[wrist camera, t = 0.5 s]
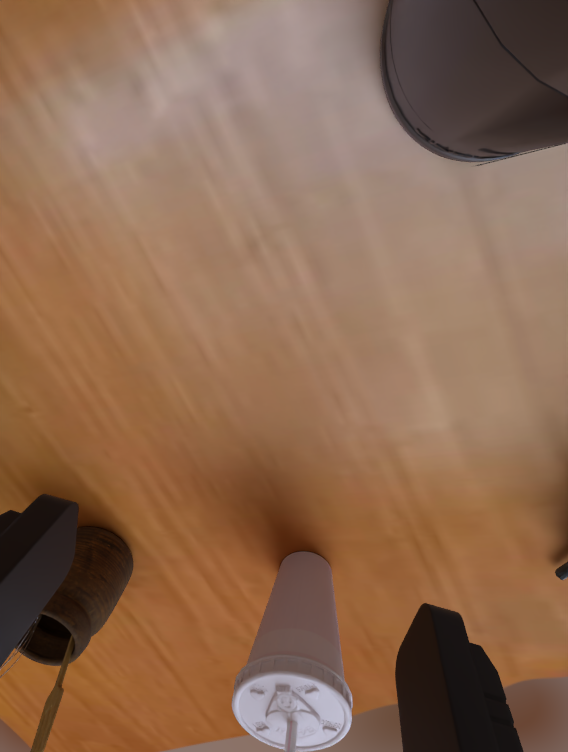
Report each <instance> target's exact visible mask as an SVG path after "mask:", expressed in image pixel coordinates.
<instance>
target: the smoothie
mask: <svg viewBox="0 0 568 752" xmlns="http://www.w3.org/2000/svg"><path fill="white" fill-rule="evenodd" d="M352 707H353V705H352V694H351V692H350V689H349V687H348V685H347V683H346V682H345V680H344V671H343V662H342V655H341V646H340V638H339V630H338V621H337V613H336V605H335V596H334V588H333V579H332V571H331V568H330V565H329V564H328V562H327V561H326V560H325V559H324V558H322V557H321V556H319V555H317V554H315V553H311V552H305V551H302V552H295V553H292V554H290V555H288V556H287V557H286V558H285V559H284V560H283V561H282V563H281V565H280V568H279V571H278V574H277V577H276V580H275V583H274V586H273V589H272V592H271V595H270V598H269V601H268V603H267V606H266V609H265V612H264V615H263V618H262V621H261V624H260V627H259V630H258V633H257V636H256V638H255V641H254V644H253V647H252V650H251V653H250V656H249V659H248V662H247V665H246V666H244V667H243V668H242V669H241V671H240V672H239V674H238V675H237V677H236V680H235V685H234V694H233V698H232V709H233V712H234V715H235V717H236V719H237V721H238V722H239V723H240V725H241V726H242V727H243V728H244V729H245V730H246V731H247V732H248V733H249V734H251V735H252V736H253V737H255V738H257V739H258V740H260V741H262V742H264V743H266V744H268V745H271V746H274V747H277V748H280V749H284V752H295V751H315V750H320V749H324V748H327V747H329V746H332V745H334V744H335V743H337V742H338V741H340V740H341V739H342V738H343V737H344V736H345V735H346V734H347V732H348V731H349V729H350V726H351V721H352V710H351V709H352Z"/></svg>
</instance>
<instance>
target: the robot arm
mask: <svg viewBox="0 0 568 752" xmlns="http://www.w3.org/2000/svg"><path fill="white" fill-rule="evenodd" d="M380 66H381V75H382V81H383V86H384V90H385V93H386V97H387V100H388V102H389V105H390V107H391V109H392V111H393V113H394V115H395V117H396V119H397V120H398V122H399V123H400V125H401V126H402V127H403V129H404V130H405V131H406V132H407V133H408V134H409V135H410V136H411V137H412V138H413V139H414V140H415V141H416V142H417V143H419V144H420V145H421V146H423V147H424V148H426V149H427V150H429V151H431V152H432V153H435V154H437V155H439V156H442V157H445V158H448V159H452V160H456V161H464V162H483V161H491V160H496V161H498V160H497V159H500V160H502V159H501V158H504V159H506V157H508V158H510V157H509V156H512V157H514V156H513V155H516V154H519V153H521V152H526V151H531V150H535V149H540V148H544V149H546V148H545V147H548V148H550V146H552V147H554V146H558V145H562V144H566V143H568V0H390V1H389V4H388V7H387V12H386V16H385V20H384V25H383V30H382V37H381V47H380ZM540 150H542V149H540ZM536 151H538V150H536ZM532 152H534V151H532ZM528 153H530V152H528ZM524 154H526V153H524ZM520 155H522V154H520ZM516 156H518V155H516ZM492 162H494V161H492ZM488 163H490V162H488ZM484 164H487V163H484ZM480 165H483V164H480ZM476 166H478V165H476ZM472 167H473V166H472ZM78 511H79V507H78V504H77V503H76V502H72V501H69V500H65V499H62V498H58V497H55V496H51V495H48V494H42V495H40V496H39V497H38V498H37V499H36V500H35V501H34V502H33V503H32V504H31V505H30V506H28V507H27V508H26V509H25V510H24V511H23V512H22V513H19V512H16V511H12V510H10V511H8V512H6V513H4V514H2V515H0V667H1V666H2V664H3V663H4V662H5V660H6V659H7V658H8V656H9V655H10V654H11V652H12V651H13V649H14V648H15V647H16V645H17V644H18V643H19V641H20V640H21V638H22V637H23V636H24V634H25V633H26V632H27V630H28V629H29V627H30V626H31V625H32V623H33V622H34V621H35V619H36V618H37V616H38V615H39V614H40V612H41V611H42V610H43V608H44V607H45V606H46V604H47V603H48V601H49V600H50V599H51V597H52V596H53V595H54V593H55V592H56V590H57V589H58V588H59V586H60V585H61V584H62V582H63V581H64V579H65V577H66V576H67V574H68V572H69V570H70V567H71V565H72V562H73V559H74V555H75V546H76V534H77V523H78ZM395 678H396V688H397V697H398V707H399V716H400V725H401V734H402V744H403V752H523V749H522V746H521V743H520V740H519V736H518V734H517V730H516V728H514V726H513V723H514V721H513V718H512V715H511V712H510V709H509V706H508V705H507V704H506V696H505V693H504V690H503V687H502V684H501V681H500V678H499V675H498V672H497V670H496V669H495V667H494V665H493V664H492V662H491V661H490V659H489V658H488V656H487V655H486V653H485V652H484V650H483V649H482V647H481V646H480V645H476V644H473V643H469V640H468V636H467V633H466V629H465V626H464V622H463V619H462V617H461V615H460V614H459V613H458V612H455V611H451V610H448V609H444V608H441V607H437V606H434V605H430V604H427V603H424V604H422V605H421V606H420V608H419V610H418V612H417V614H416V616H415V618H414V620H413V622H412V624H411V626H410V628H409V630H408V632H407V634H406V636H405V638H404V640H403V642H402V644H401V646H400V649H399V652H398V655H397V660H396V671H395Z"/></svg>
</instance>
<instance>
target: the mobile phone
mask: <svg viewBox="0 0 568 752" xmlns="http://www.w3.org/2000/svg"><path fill="white" fill-rule="evenodd" d="M555 573H556V576H557V577H559V578H560V579H561V580H564V579H566V578H567V577H568V562H566V563H565V564H564V565H562V566H561V567H559V568H558V569H557V570H556V571H555Z"/></svg>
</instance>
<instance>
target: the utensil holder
mask: <svg viewBox="0 0 568 752" xmlns="http://www.w3.org/2000/svg"><path fill="white" fill-rule="evenodd" d="M132 570H133V559H132V555H131V553H130V551H129V549H128V547H127V546H126V545H125V543H124V542H123V541H122V540H121V539H119V538H118V537H117V536H116V535H114V534H112V533H111V532H109V531H106V530H104V529H101V528H96V527H81V528H77V534H76V546H75V555H74V559H73V562H72V565H71V567H70V570H69V572H68V574H67V576H66V577H65V579H64V581H63V582H62V584H61V585H60V586H59V588H58V589H57V590H56V592H55V593H54V595H53V596H52V597H51V599H50V600H49V601H48V603H47V604H46V606H45V607H44V608H43V610H42V611H41V612H40V614H39V615H38V616H37V618H36V619H35V621H34V622H33V623H32V625H31V626H30V627H29V629H28V630H27V632H26V633H25V634H24V636H23V637H22V638H21V640H20V641H19V643H18V644H17V645H16V647H15V648H16V651H17V650H18V651H19V652H20V653H21V655H22V654H23V655H24V656H26V657H27V658H29V659H31V660H33V661H36V662H38V663H41V664H45V665H52V666H60V665H62V666H61V669H60V672H59V675H58V678H57V681H56V684H55V687H54V689H53V690H52V692H51V694H50V695H49V697H48V698H47V700H46V703H45V706H44V710H43V713H42V716H41V719H40V723H39V726H38V729H37V733H36V736H35V739H34V742H33V746H32V749H31V752H43V751H44V749H45V746H46V743H47V740H48V737H49V734H50V731H51V728H52V725H53V722H54V719H55V716H56V713H57V710H58V707H59V704H60V701H61V698H62V695H63V691H64V689H63V688H62V683H63V679H64V676H65V673H66V670H67V667H68V664H69V663H71V662H73V661H74V660H76V659H77V658H78V657H79V656H80V654H81V653H82V652H83V651H84V649H85V648H86V647H87V645H88V643H89V641H90V639H91V637H92V636H93V635H94V634H96V633H97V632H98V631H99V630H100V629H101V628H102V626H103V625H104V624H105V622H106V621H107V619H108V618H109V616H110V614H111V613H112V611H113V609H114V607H115V606H116V604H117V602H118V600H119V598H120V597H121V595H122V593H123V591H124V589H125V587H126V585H127V583H128V581H129V579H130V577H131V574H132ZM16 651H15V652H16ZM18 651H17V652H16V653H15V652H14V653H15V655H16V654H17V653H18ZM14 653H13V655H14ZM13 655H12V656H13ZM15 655H14V656H15ZM21 655H20V656H21ZM12 656H11V657H12ZM14 656H13V657H14ZM11 657H10V658H11ZM13 657H12V658H13ZM10 658H9V660H8V661H7V662H6V663H8V662H9V661H10V660H11V659H12V658H11V659H10ZM19 658H20V657H19ZM19 658H18V659H19ZM18 659H17V660H18ZM17 660H16V661H17ZM16 661H15V663H16ZM6 663H5V664H6ZM15 663H14V664H15ZM5 664H4V665H5ZM14 664H13V665H14ZM4 665H3V666H4ZM13 665H12V666H13ZM3 666H2V667H3ZM12 666H11V667H12ZM2 667H1V668H2ZM11 667H10V668H11ZM1 668H0V669H1ZM10 668H9V669H10ZM9 669H8V670H9ZM8 670H7V671H8ZM7 671H6V672H7ZM6 672H5V673H6ZM5 673H4V674H5ZM4 674H3V675H4ZM3 675H2V676H3ZM2 676H0V678H1V677H2Z"/></svg>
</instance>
